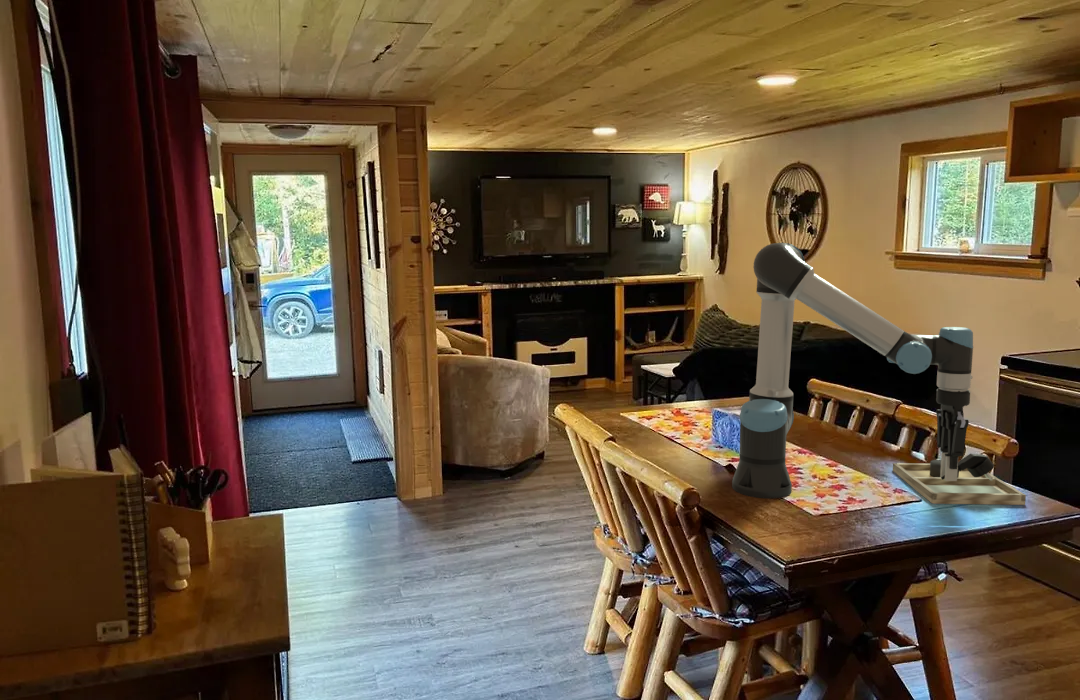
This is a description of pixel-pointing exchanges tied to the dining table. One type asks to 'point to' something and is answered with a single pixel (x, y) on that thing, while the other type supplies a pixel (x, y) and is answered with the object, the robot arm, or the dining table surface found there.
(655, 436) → the dining table surface
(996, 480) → the organizer
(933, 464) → the dark gray rounded block
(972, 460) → the power plug
